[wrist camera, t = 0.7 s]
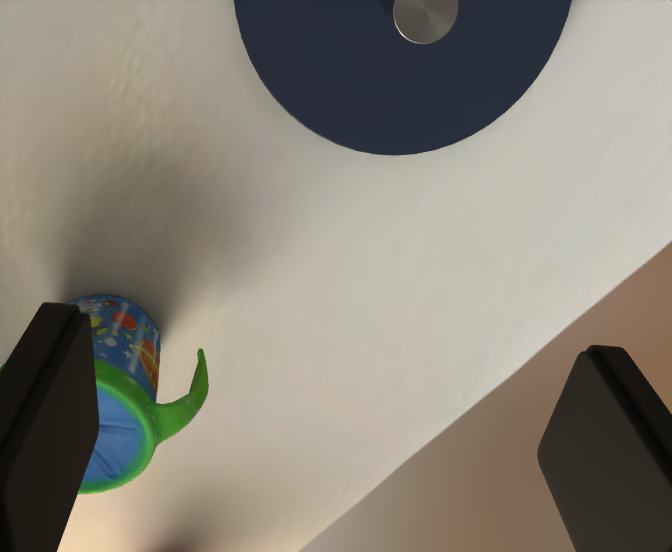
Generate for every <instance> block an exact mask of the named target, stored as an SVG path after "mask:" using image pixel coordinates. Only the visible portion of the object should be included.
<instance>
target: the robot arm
mask: <svg viewBox="0 0 672 552" xmlns="http://www.w3.org/2000/svg"><path fill="white" fill-rule="evenodd" d="M98 433H99V409H98V398H97V386H96V374H95V362H94V350H93V339H92V327H91V318H90V315H89V314H88V313H81V312H80V308H79V306H78V305H76V304H63V303H50V302H45V303H43V304H42V305H41V306H40V308H39V309H38V311H37V313H36V314H35V316H34V317H33V319H32V321H31V322H30V324H29V326H28V327H27V329H26V330H25V332H24V334H23V335H22V337H21V339H20V340H19V342H18V344H17V345H16V347H15V348H14V350H13V352H12V353H11V355H10V357H9V358H8V360H7V361H6V363H5V365H4V366H3V368H2V370H1V371H0V552H57V549H58V547H59V544H60V541H61V538H62V536H63V533H64V530H65V527H66V525H67V522H68V519H69V516H70V513H71V511H72V508H73V505H74V502H75V500H76V497H77V494H78V491H79V488H80V486H81V483H82V480H83V477H84V475H85V472H86V469H87V466H88V464H89V461H90V458H91V455H92V452H93V450H94V447H95V444H96V441H97V438H98ZM538 462H539V465H540V468H541V470H542V473H543V475H544V477H545V480H546V482H547V484H548V487H549V489H550V491H551V494H552V496H553V499H554V501H555V503H556V506H557V508H558V510H559V512H560V515H561V517H562V520H563V522H564V524H565V527H566V529H567V532H568V534H569V536H570V539H571V541H572V543H573V545H574V548H575V550H576V552H672V414H671V413H670V411H669V410H668V409H667V407H666V406H665V405H664V403H663V402H662V400H661V399H660V398H659V396H658V395H657V393H656V392H655V391H654V389H653V388H652V386H651V385H650V384H649V382H648V381H647V379H646V378H645V377H644V375H643V374H642V372H641V371H640V370H639V369H638V367H637V366H636V364H635V363H634V361H633V360H632V358H631V357H630V356H629V355H628V353H627V352H626V351H625V350H624V349H623V348H621V347H615V346H602V345H592V346H590V347H589V348H587V350H586V352H585V351H583V352H581V353H580V354H579V355H578V356H577V359H576V361H575V363H574V365H573V368H572V370H571V372H570V375H569V377H568V379H567V382H566V384H565V386H564V388H563V391H562V393H561V396H560V398H559V400H558V402H557V405H556V407H555V409H554V412H553V414H552V416H551V418H550V421H549V423H548V425H547V428H546V430H545V432H544V435H543V437H542V439H541V442H540V444H539V447H538Z"/></svg>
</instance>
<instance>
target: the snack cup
mask: <svg viewBox="0 0 672 552" xmlns="http://www.w3.org/2000/svg"><path fill="white" fill-rule="evenodd" d="M68 304H76V305H78V306H79V308H80V312H81V313H88V314H89V315H90V318H91V327H92V339H93V350H94V362H95V374H96V386H97V398H98V409H99V433H98V438H97V441H96V444H95V447H94V450H93V452H92V455H91V458H90V461H89V464H88V466H87V469H86V472H85V475H84V477H83V480H82V483H81V486H80V488H79V491H78V494H89V493H99V492H104V491H107V490H111V489H115V488H117V487H120V486H122V485H124V484H126V483H128V482H129V481H131V480H133V479H134V478H136V477H137V476H138V475H139V474H141V472H142V471H144V470H145V468H146V467H147V465H148V464H149V462H150V460H151V458H152V456H153V453H154V451H155V448H156V447H157V445H158V444H159V443H160V442H162V441H163V440H166V439H168V438H169V437H171V436H173V435H174V434H176V433H177V432H179V431H180V430H181V429H182V428H184V427H185V426H186V425H187V424H188V423H189V422H190V421H191V420H192V419H193V418H194V417H195V415H196V414H197V413H198V411H199V410H200V408H201V407H202V405H203V403H204V401H205V399H206V396H207V394H208V388H209V385H208V373H207V366H206V360H205V355H204V352H203V349H199V350H198V353H197V356H198V364H197V367H196V370H195V374H194V377H193V381H192V384H191V388H190V391H189V394H188V395H186V396H184V397H182V398H180V399H178V400H176V401H174V402H172V403H168V404H158V403H156V399H157V391H158V380H159V364H160V351H161V347H160V340H161V339H160V333H159V331H158V328H156V327H155V324H154V323H153V322H152V320H151V319H150V318H149V316H148V315H147V314H146V313H145V312H144V311H143V310H142V309H141V308H139V307H137V306H135V305H133V304H132V303H131V302H130V300H128V299H126V298H123V297H119V296H118V297H110V296H107V295H94V296H88V297H84V298H82V299H77V300H74V301H70V302H69V303H68ZM4 365H5V364H4ZM4 365H2V366H1V367H0V371H1V370H2V368H3V366H4Z"/></svg>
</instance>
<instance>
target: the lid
mask: <svg viewBox="0 0 672 552" xmlns="http://www.w3.org/2000/svg"><path fill="white" fill-rule="evenodd" d="M571 1H572V0H234V4H235V12H236V18H237V21H238V25H239V29H240V33H241V37H242V40H243V43H244V45H245V48H246V50H247V53H248V56H249V58H250V60H251V62H252V64H253V66H254V68H255V70H256V72H257V73H258V75H259V77H260V79H261V81H262V82H263V83H264V85H265V86H266V88H267V89H268V90H269V92H270V93H271V95H272V96H273V97H274V98H275V99H276V101H277V102H278V103H279V104H280V105H281V106H282V107H283V108H284V109H285V110H286V111H287V112H288V113H289V114H290V115H291V116H292V117H293V118H295V119H296V120H297V121H298V122H299V123H301V124H302V125H303V126H304V127H306V128H308V129H309V130H311V131H312V132H314V133H315V134H317V135H319V136H320V137H322V138H324V139H326V140H329V141H331V142H333V143H335V144H337V145H340V146H343V147H346V148H349V149H352V150H355V151H360V152H365V153H371V154H378V155H408V154H417V153H423V152H428V151H433V150H436V149H439V148H442V147H445V146H449V145H452V144H454V143H456V142H459V141H461V140H463V139H465V138H467V137H469V136H472V135H473V134H475V133H476V132H478V131H480V130H481V129H483V128H485V127H486V126H488V125H490V124H491V123H492V122H493V121H495V120H496V119H497V118H499V117H500V116H501V115H502V114H504V113H505V112H506V111H507V110H508V109H509V108H510V107H511V106H512V105H513V104H514V103H515V102H516V101H517V100H518V99H520V98H521V97H522V95H523V94H524V93H525V92H526V91H527V89H528V88H529V87H530V86H531V84H532V83H533V82H534V81H535V80H536V78H537V77H538V75H539V74H540V72H541V71H542V69H543V68H544V66H545V64H546V63H547V61H548V60H549V58H550V56H551V54H552V52H553V50H554V48H555V46H556V44H557V42H558V40H559V38H560V35H561V33H562V30H563V27H564V25H565V22H566V19H567V17H568V13H569V9H570V5H571Z"/></svg>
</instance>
